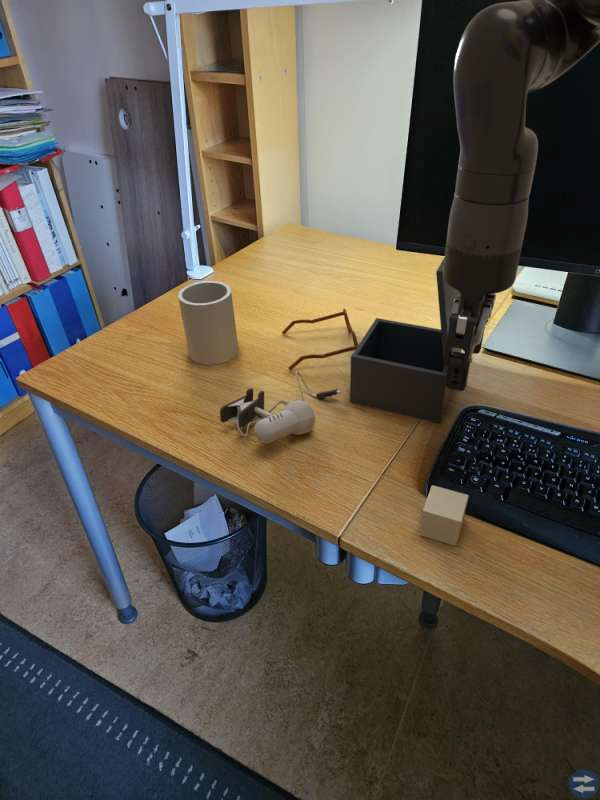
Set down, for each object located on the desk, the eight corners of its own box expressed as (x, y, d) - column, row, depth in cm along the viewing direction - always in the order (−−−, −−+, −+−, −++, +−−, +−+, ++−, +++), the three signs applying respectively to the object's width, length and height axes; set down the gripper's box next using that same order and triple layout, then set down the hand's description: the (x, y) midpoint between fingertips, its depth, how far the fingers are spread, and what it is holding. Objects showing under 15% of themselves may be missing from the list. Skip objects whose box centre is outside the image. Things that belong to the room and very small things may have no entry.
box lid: (435, 271, 71) (442, 271, 71) (456, 236, 80) (462, 235, 80) (444, 373, 79) (450, 373, 79) (462, 330, 88) (467, 330, 88)
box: (349, 402, 90) (350, 356, 85) (374, 361, 99) (376, 317, 94) (440, 423, 85) (447, 376, 80) (457, 378, 94) (464, 333, 89)
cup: (246, 354, 102) (239, 295, 95) (200, 370, 99) (190, 310, 91) (225, 333, 109) (217, 276, 101) (181, 347, 105) (170, 289, 98)
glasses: (361, 364, 98) (362, 339, 95) (288, 371, 97) (287, 347, 94) (347, 327, 109) (348, 304, 106) (281, 333, 108) (279, 310, 105)
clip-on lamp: (297, 396, 96) (215, 428, 84) (299, 362, 94) (214, 389, 82) (350, 419, 89) (268, 457, 77) (354, 383, 87) (269, 416, 74)
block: (463, 519, 70) (468, 494, 67) (456, 546, 67) (461, 521, 64) (428, 509, 72) (431, 484, 69) (419, 535, 68) (422, 510, 66)
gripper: (511, 270, 51) (484, 410, 61) (532, 219, 61) (505, 345, 71) (430, 259, 54) (416, 394, 64) (462, 212, 64) (446, 335, 74)
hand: (463, 368), depth 67 cm, fingers open, 8 cm apart
